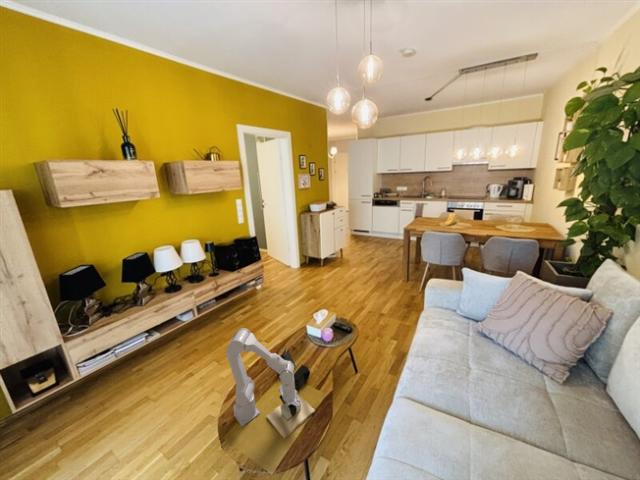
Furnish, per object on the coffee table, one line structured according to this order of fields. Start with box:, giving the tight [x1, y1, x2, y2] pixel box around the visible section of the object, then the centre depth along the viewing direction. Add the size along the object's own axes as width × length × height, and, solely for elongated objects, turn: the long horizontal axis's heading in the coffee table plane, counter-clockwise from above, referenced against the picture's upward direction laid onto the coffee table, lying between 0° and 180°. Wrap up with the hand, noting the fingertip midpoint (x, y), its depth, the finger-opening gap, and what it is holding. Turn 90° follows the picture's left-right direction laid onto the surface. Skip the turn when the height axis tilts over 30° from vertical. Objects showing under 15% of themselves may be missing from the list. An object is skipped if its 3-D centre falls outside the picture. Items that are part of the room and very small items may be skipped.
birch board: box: [265, 392, 316, 439], centre depth 122 cm, size 18×14×1 cm
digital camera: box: [294, 364, 311, 392], centre depth 139 cm, size 10×5×7 cm, turn 152°
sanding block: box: [281, 402, 301, 421], centre depth 122 cm, size 8×4×5 cm, turn 133°
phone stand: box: [280, 347, 297, 370], centre depth 149 cm, size 9×6×12 cm, turn 74°
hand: (290, 411), depth 122 cm, fingers closed on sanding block, 4 cm apart
